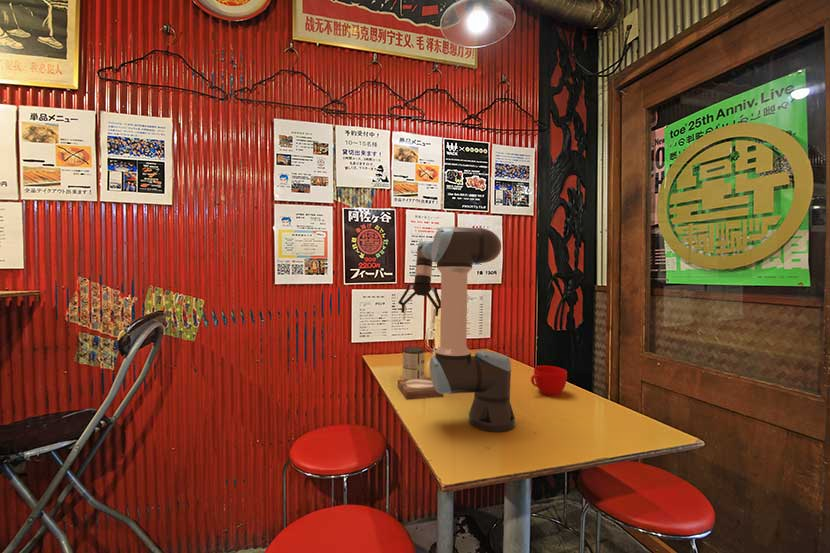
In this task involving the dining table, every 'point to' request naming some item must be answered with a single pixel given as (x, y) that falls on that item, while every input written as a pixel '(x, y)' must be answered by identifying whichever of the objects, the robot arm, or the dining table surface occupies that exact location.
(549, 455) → the dining table surface
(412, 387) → the base
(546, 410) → the dining table surface
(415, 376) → the coffee can
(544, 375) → the ceramic cup
